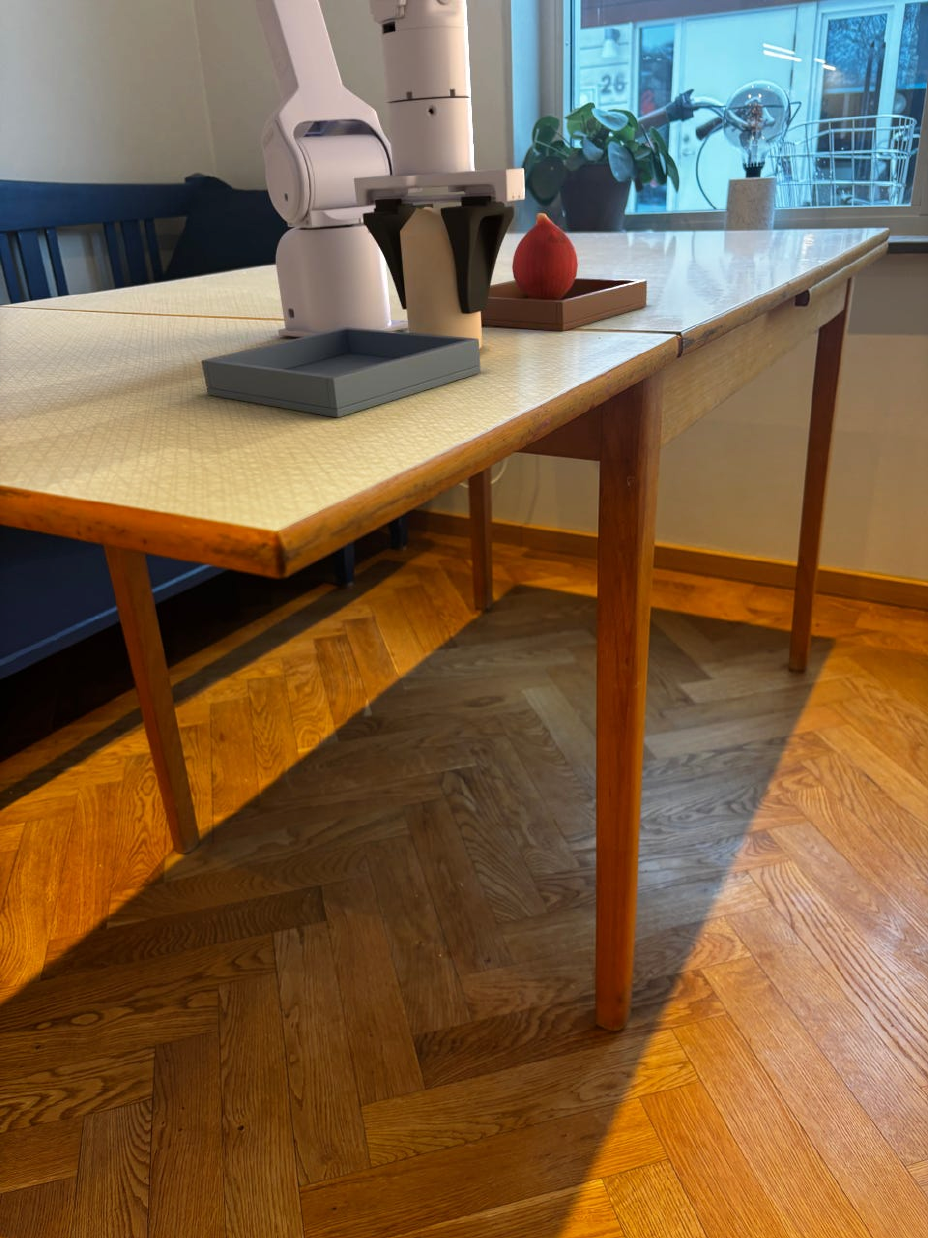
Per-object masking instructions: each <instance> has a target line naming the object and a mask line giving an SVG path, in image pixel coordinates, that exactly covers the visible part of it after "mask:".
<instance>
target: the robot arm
mask: <svg viewBox="0 0 928 1238" xmlns="http://www.w3.org/2000/svg"><path fill="white" fill-rule="evenodd" d="M251 3H252V6H253V10H254V13H255V16H256V20H257V24H258V27H259V30H260V34H261V37H262V41H263V43H264V47H265V50H266V54H267V58H268V61H269V64H270V67H271V71H272V75H273V77H274V81H275V84H276V88H277V91H278V94H279V97H280V102H281V103H279V105H278V106H277V107H276V108H275V110H274V111H272V113H271V114H270V116H269V117H268V118H267V120H266V121H265V123H264V126H263V128H262V131H261V135H260V140H259V141H260V146H261V150H262V155H263V162H264V166H265V171H264V172H265V182H266V187H267V192H268V195H269V199H270V201H271V204H272V206H273V208H274V209H275V210H276V212H277V213H278V214H279V216H280V217H281V218H282V219H283V220H284V221H285V222H286V223H287V227H288V228H290V229H289V230H287V231H286V232H285V233H284V234H283V235H282V236H281V238H280V239H279V242H278V244H277V248H276V252H275V268H276V275H277V280H278V288H279V295H280V301H281V308H282V315H283V323H284V328H280V329H278V330H277V334H278V335H279V336H284V337H292V338H293V337H294V338H302V337H306V336H311V335H315V334H319V333H324V332H328V331H332V330H337V329H341V328H346V327H349V328H361V329H372V330H384V331H396V332H397V331H400V330H404V329H408V320H398V319H392V318H391V308H390V297H389V295H390V294H389V287H388V276H387V268H388V270H389V272H390V276H391V278H392V281H393V284H394V287H395V290H396V294H397V297H398V300H399V303H400V305H401V308H402V310H406V311H407V307H406V296H405V284H404V273H403V261H402V250H401V238H400V231H401V229H402V228H403V226H404V225H405V224H406V222H407V221H408V220H409V219H410V217H411V216H412V215H413V213H414V212H415V210H416V208H418V209H423V208H424V207H431V208H434V204H442V203H444V204H445V203H446V204H447V203H460V204H461V205H458V206H457V205H455V206H454V207H446V206H445V207H446V208H443V207H441V208H439V209H440V210H441V216H442V219H443V221H444V224H445V227H446V229H447V233H448V236H449V239H450V243H451V247H452V251H453V255H454V261H455V266H456V276H457V287H458V297H459V303H460V307H461V311H462V313H463V314H471V313H476V312H480V311H484V310H486V308H487V302H488V296H489V290H490V285H492V280H493V275H494V270H495V266H496V263H497V259H498V255H499V252H500V250H501V247H502V243H503V241H504V238H505V236H506V234H507V231H508V230H509V228H510V226H511V222H512V221H513V219H514V217H515V214H516V212H515V205H514V204H505V203H508V202H513V201H515V202H516V201H523V200H525V198H526V197H525V169H524V168H523V167H520V168H517V167H515V168H498V169H497V168H496V169H477V170H476V169H475V161H474V159H475V158H474V143H473V138H474V137H473V122H472V121H473V120H472V102H471V101H472V100H471V99H472V98H471V79H470V59H469V57H470V56H469V38H468V21H467V19H468V18H467V0H369V8H370V9H369V10H370V14H372V17H373V21H374V23H377V24H378V25H379V26H380V39H381V49H382V50H381V51H382V61H383V72H384V83H385V84H384V85H385V95H386V103H387V104H386V106H387V107H386V108H387V116H388V118H387V119H388V130H389V140H388V138H387V137H386V135H385V134H384V132H383V129H382V126H381V125H380V121H379V118H378V114H377V111H376V110H375V109H374V108H373V107H372V106H371V105H369V104H368V103H366V102H365V100H362V99H361V98H359V97H358V96H357V95H355V94H354V93H353V92H351V91H350V90H349V89H347V88H346V87H345V86H344V84H343V81H342V78H341V75H340V71H339V68H338V65H337V64H338V63H337V60H336V57H335V53H334V51H333V47H332V44H331V40H330V37H329V36H330V35H329V33H328V29H327V26H326V23H325V19H324V15H323V12H322V9H321V5H320V2H319V0H251ZM442 187H443V188H445V187H447V191H448V194H425V195H422V194H421V195H409V194H416V193H418V194H419V193H422V192H423V189H426V188H428V189H429V188H442ZM462 192H463V193H462ZM449 193H452V194H449Z"/></svg>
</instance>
